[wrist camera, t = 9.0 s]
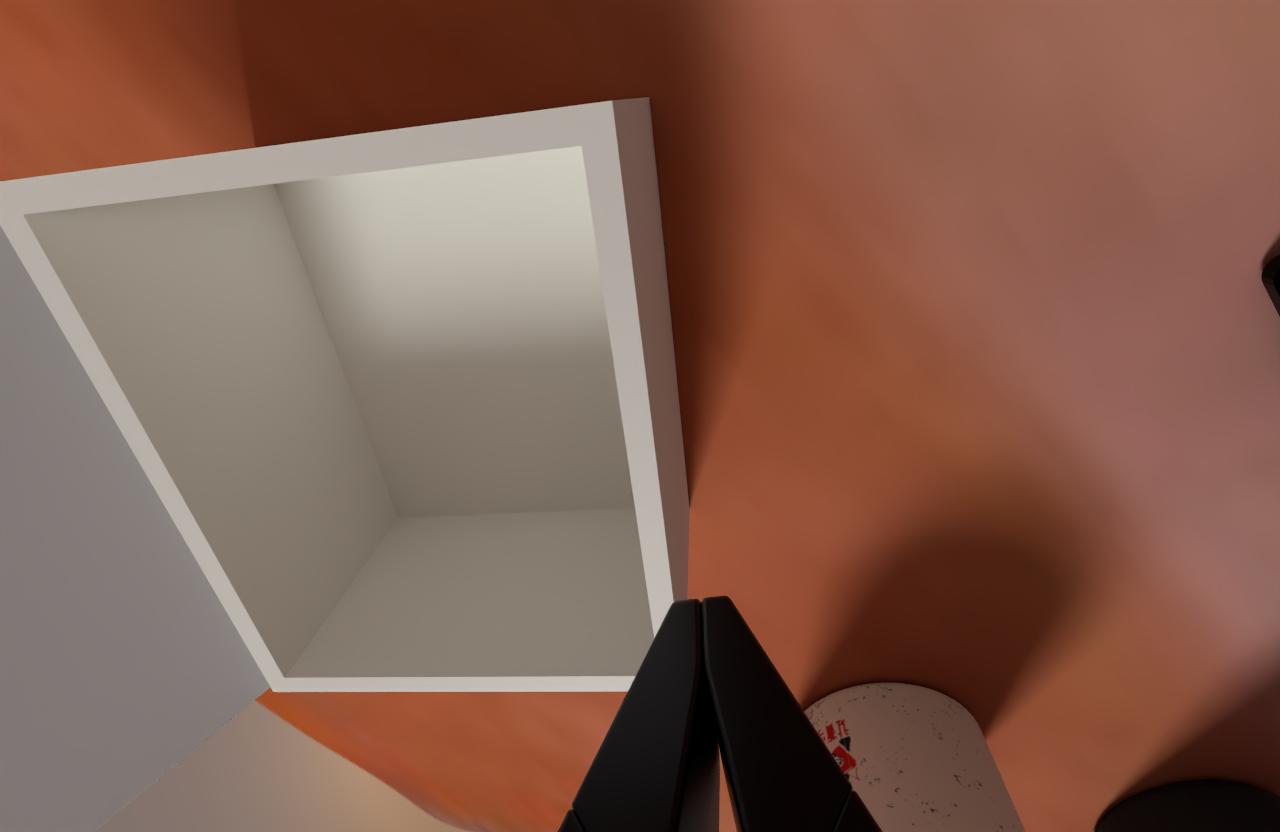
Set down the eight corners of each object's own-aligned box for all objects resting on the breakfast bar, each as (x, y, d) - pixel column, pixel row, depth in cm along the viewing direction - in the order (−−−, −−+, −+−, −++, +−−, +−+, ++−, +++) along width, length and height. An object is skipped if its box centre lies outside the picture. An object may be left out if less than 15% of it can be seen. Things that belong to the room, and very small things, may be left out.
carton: (649, 97, 17) (611, 100, 10) (689, 509, 23) (684, 691, 16) (255, 149, 18) (-23, 184, 11) (395, 521, 25) (273, 691, 18)
